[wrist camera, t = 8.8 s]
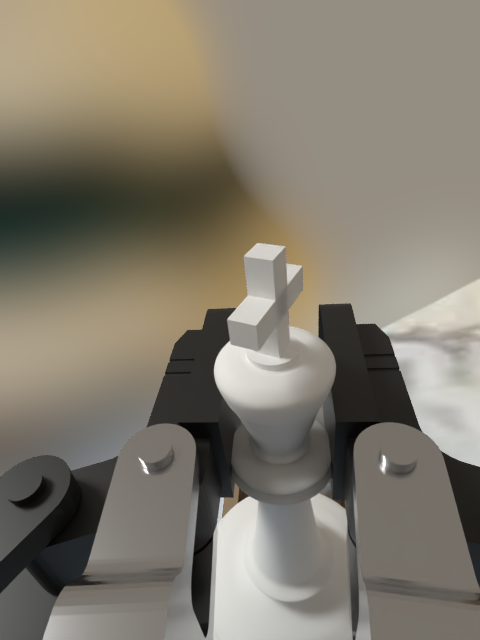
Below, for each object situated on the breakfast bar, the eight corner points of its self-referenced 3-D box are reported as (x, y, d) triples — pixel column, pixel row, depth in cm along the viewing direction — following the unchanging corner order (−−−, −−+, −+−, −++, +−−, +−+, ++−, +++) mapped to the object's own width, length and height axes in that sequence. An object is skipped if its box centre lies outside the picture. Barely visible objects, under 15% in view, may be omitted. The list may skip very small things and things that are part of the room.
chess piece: (400, 534, 12) (478, 200, 6) (355, 750, 9) (438, 448, 3) (250, 475, 14) (206, 184, 8) (166, 628, 11) (-6, 315, 5)
